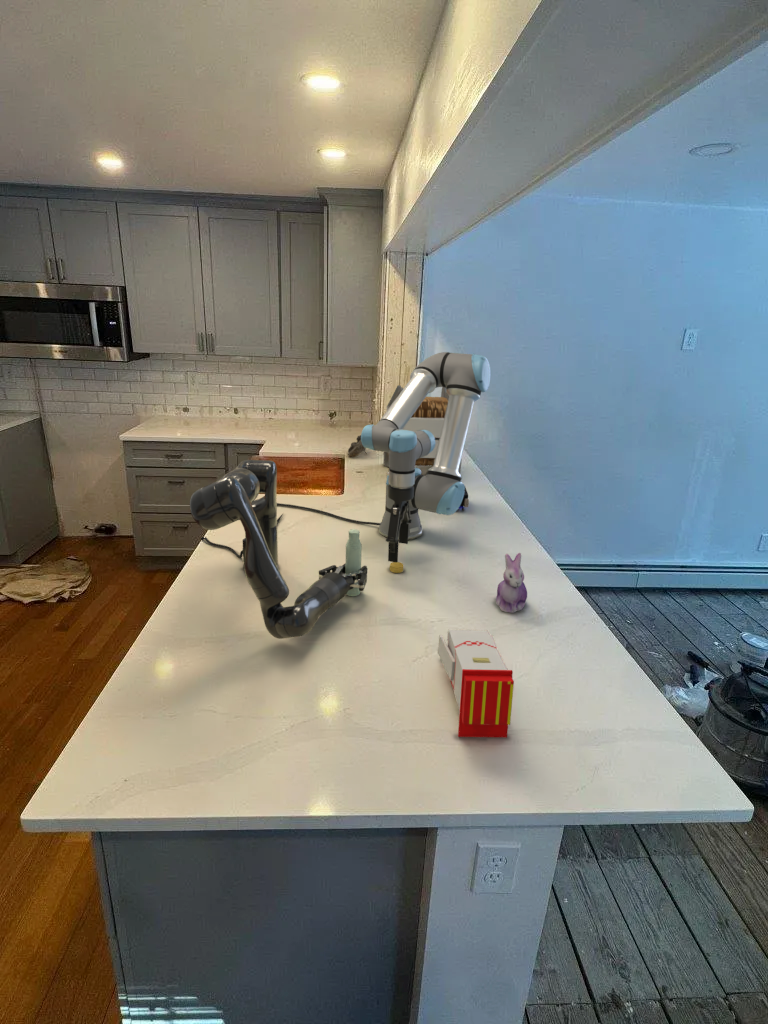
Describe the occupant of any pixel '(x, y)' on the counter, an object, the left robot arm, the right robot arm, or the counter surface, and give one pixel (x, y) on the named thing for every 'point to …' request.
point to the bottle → (353, 557)
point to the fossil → (356, 448)
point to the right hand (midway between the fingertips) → (398, 551)
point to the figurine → (512, 586)
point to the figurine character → (464, 500)
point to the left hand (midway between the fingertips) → (357, 567)
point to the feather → (279, 518)
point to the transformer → (425, 422)
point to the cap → (396, 567)
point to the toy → (478, 682)
